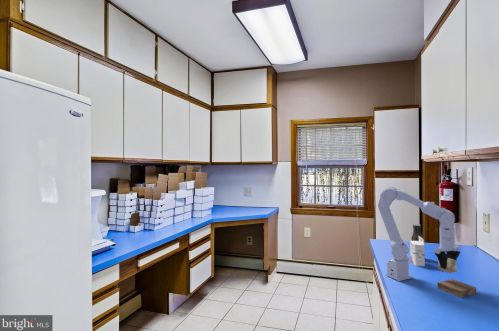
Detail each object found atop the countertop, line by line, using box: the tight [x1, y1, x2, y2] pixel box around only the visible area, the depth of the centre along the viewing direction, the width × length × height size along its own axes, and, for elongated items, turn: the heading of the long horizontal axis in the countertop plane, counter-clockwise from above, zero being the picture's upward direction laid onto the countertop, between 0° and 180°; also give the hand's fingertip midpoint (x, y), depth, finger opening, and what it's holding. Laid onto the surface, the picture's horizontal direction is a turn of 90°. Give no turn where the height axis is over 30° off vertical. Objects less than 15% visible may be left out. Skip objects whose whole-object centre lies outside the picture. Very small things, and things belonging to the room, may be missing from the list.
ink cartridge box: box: [409, 236, 426, 267], centre depth 161 cm, size 9×5×15 cm, turn 168°
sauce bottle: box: [410, 223, 424, 241], centre depth 170 cm, size 6×6×20 cm
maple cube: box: [437, 258, 458, 274], centre depth 132 cm, size 5×5×5 cm
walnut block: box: [437, 278, 477, 299], centre depth 127 cm, size 10×10×3 cm
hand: (447, 267), depth 132 cm, fingers closed on maple cube, 5 cm apart
